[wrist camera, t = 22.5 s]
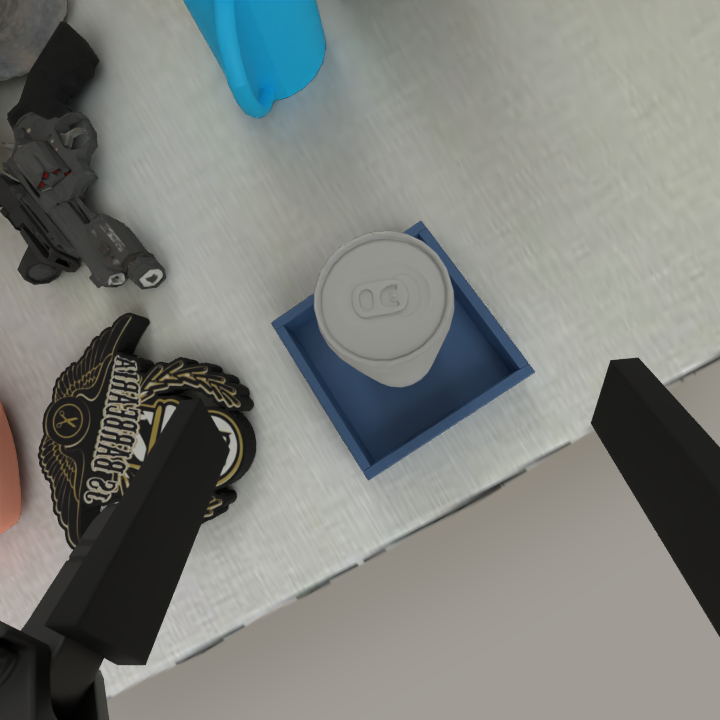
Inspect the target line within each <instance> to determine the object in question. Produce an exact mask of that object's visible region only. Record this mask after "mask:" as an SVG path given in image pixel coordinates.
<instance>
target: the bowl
mask: <svg viewBox="0 0 720 720" xmlns="http://www.w3.org/2000/svg"><path fill="white" fill-rule="evenodd" d="M66 15H67V0H0V81H5V80H9V79H10V78H11V77H13V76H16V77H21V76H23V75H25V74H27V73H29V72H30V70H31V68H32V66H33V65H34V63H35V62H36V60H37V58H38V57H39V55H40V54H41V52H42V50H43V49H44V47H45V46H46V44H47V42H48V41H49V39H50V38H51V36H52V34H53V33H54V31H55V30H56V28H57V26H58V25H59V23H60V22H63V19H64V18H65V16H66Z"/></svg>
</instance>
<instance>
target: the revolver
mask: <svg viewBox="0 0 720 720" xmlns="http://www.w3.org/2000/svg"><path fill="white" fill-rule="evenodd" d="M98 62H99V59H98V57H97V56H96V54H95V53H94V51H93V50H92V48H91V47H90V46H89V44H88V43H87V42H86V40H85V39H83V38H82V37H81V36H80V35H79V34H78V33H77V32H76V31H75V30H74V29H73V28H72V27H71V26H70V25H69V24H66V23H64V22H60V23H59V25H58V26H57V28H56V30H55V31H54V33H53V34H52V36H51V38H50V39H49V41H48V42H47V44H46V46H45V47H44V49H43V50H42V52H41V54H40V55H39V57H38V58H37V60H36V62H35V63H34V65H33V66H32V68H31V70H30V72H29V75H28V78H27V81H26V83H25V86H24V89H23V92H22V95H21V98H20V101H19V103H18V104H17V105H16V106H15V107H14V108H13V109H12V110H11V111H10V112H9V113H8V114H7V117H8V118H7V119H8V121H9V124H10V126H11V128H12V130H13V132H14V137H15V143H10V144H5V143H4V142H3V143H2V146H4V147H5V148H7V149H9V150H10V151H12V152H13V153H12V156H11V157H10V158H9V160H8V161H7V162H6V163H2V164H3V168H4V169H5V170H6V172H7V173H8V174H10V175H12V176H13V177H15V178H16V179H18V180H19V181H20V182H21V183H19V182H17V181H15V180H13V179H11V178H9V177H7V176H6V175H4V174H2V173H1V174H0V207H2V206H3V208H2V209H1V210H0V212H1V213H2V214H3V215H4V217H6V218H7V219H8V220H9V221H10V222H11V224H12V225H13V226H14V228H15V229H17V230H19V231H21V232H20V233H21V235H22V236H23V238H24V239H25V241H26V243H27V244H28V248H27V250H26V252H25V254H24V256H23V258H22V260H21V263H20V265H19V267H18V271H19V273H20V274H21V275H22V277H23V278H24V280H26V281H28V282H30V283H32V284H34V285H37V284H47V283H50V282H52V281H53V280H55V279H56V278H58V277H59V275H60V273H61V271H62V270H64V271H66V272H76V270H77V269H78V268H79V267H80V262H79V259H78V257H80V256H81V257H82V259H83V260H84V262H85V263H86V265H87V266H88V268H89V269H90V271H91V272H92V275H91V276H90V277H89V278H90V280H91V281H92V282H93V283H94V284H95V285H96V286H97V287H98V288H100V287H101V286H104V287H118V286H121V285H123V284H124V283H125V282H126V280H127V279H128V278H130V279H131V280H132V281H133V282H134V283H135V284H136V285H138V286H139V287H140V288H141V289H149V288H156V287H158V286H159V285H160V284H161V283H162V282H163V281H164V280H165V279H166V275H165V270H164V268H163V267H162V266H161V265H160V264H159V263H158V261H157V260H156V259H155V257H154V255H153V254H151V253H149V252H148V251H147V250H146V249H145V248H144V246H143V245H142V244H141V243H140V241H139V240H138V239H137V238H136V236H135V235H134V234H133V233H132V231H131V230H130V229H129V228H128V227H126V226H125V225H124V224H123V223H121V222H119V221H118V220H116V219H114V218H112V217H110V216H108V215H106V214H103V213H102V214H100V215H99V214H98V213H97V212H94V211H90V210H89V209H88V208H87V207H86V206H85V204H84V203H83V202H82V200H83V199H84V192H85V191H86V189H87V188H88V186H89V185H90V184H92V183H93V182H94V181H95V180H97V179H98V177H97V176H96V174H95V173H94V172H93V171H92V169H91V168H90V167H89V164H90V160H91V156H92V154H93V152H94V151H95V150H96V148H97V147H98V144H97V133H96V131H95V129H94V128H93V126H92V124H91V123H90V121H89V119H88V118H87V117H86V116H84V115H83V114H82V113H77V112H73V111H72V110H71V109H70V108H69V107H68V102H69V100H70V99H71V98H73V97H74V96H76V95H77V94H79V93H80V92H81V89H82V84H83V83H84V82H86V81H88V80H89V79H91V78H93V77H94V69H95V67H96V66H97V64H98ZM81 120H84V121H85V122H86V126H87V131H88V132H87V131H86V130H85V129H83V128H78V127H76V128H74V129H72V130H70V131H69V125H71V124H74V123H76V122H78V121H81ZM87 133H88V136H89V140H88V141H87V142H86V143H85V145H84V146H83V147H82V148H79V149H75V150H72V149H71V148H72V143H73V139H74V138H75V137H77V136H78V135H80V134H87ZM4 169H3V170H4ZM5 170H4V171H5ZM68 262H69V263H70V265H69V264H68Z"/></svg>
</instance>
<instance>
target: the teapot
mask: <svg viewBox="0 0 720 720" xmlns="http://www.w3.org/2000/svg"><path fill="white" fill-rule="evenodd" d="M21 506H22V502H21V486H20V476H19V467H18V459H17V454H16V448H15V444H14V440H13V437H12V433H11V430H10V427H9V424H8V421H7V418H6V415H5V412H4V409H3V407H2V404H1V402H0V534H1V533H3V532H5V531H6V530H8V529H9V528H10V527H12V526H13V525H14V524H16V523H17V522H18V520H19V518H20V515H21Z"/></svg>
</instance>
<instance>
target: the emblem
mask: <svg viewBox="0 0 720 720" xmlns="http://www.w3.org/2000/svg"><path fill="white" fill-rule="evenodd" d="M148 325H149V320H148V319H147V318H145V317H142V316H139V315H135V314H132V313H126V314H123V315H122V316H120V317H119V318H118V319H117V320H116V321H115V322H114V323H113V325H112V327H108V328H106V329H104V330H103V331H102V332H101V333H100V335H99V336H96V337H95V338H94V339H93V340H92V342H91V344H90V346H89V347H87V348H86V350H85V352H84V355H83V356H82V357H81V358H80V360H79V361H78V362H77V363H76V362H73V363H71V365H70V366H69V367H67V368H66V370H65V371H63V372H62V373H61V375H60V377H59V378H57V379H56V383H55V386H54V388H53V394H52V402H51V403H50V404H49V406H48V407H47V410H46V411H45V413H44V418H43V423H42V424H43V433H44V435H43V438H42V440H41V444H40V446H39V453H38V458H39V465H40V467H41V468H42V473H43V474H44V477H45V480H47V481H49V483H50V488H51V491H52V493H51V499H52V502H53V512H54V514H55V515H56V516H57V517H58V522H59V525H60V526H61V527H62V529H64V530H65V537H66V541H67V543H68V545H69V546H70V547H71V549H73V550H74V548H75V547H76V545H78V544H79V543H80V539H81V537H82V536H83V534H84V533H85V531H86V530H87V528H88V526H89V525H90V523H91V522H92V521H93V520H94V519H95V518H96V517H97V516H98V515H99V514H100V505H101V506H105V505H109V504H112V503H115V502H118V501H120V499H121V498H122V496H123V494H124V493H125V491H126V489H127V488H128V486H129V484H130V483H131V481H132V479H133V478H134V476H135V475H136V473H137V471H138V470H139V468H140V466H141V465H142V463H143V461H144V460H145V458H146V456H147V455H148V453H149V451H150V450H151V448H152V447H153V445H154V443H155V442H156V440H157V438H158V437H159V435H160V433H161V432H162V430H163V428H164V427H165V425H166V423H167V422H168V420H169V418H170V417H171V415H172V414H173V412H174V410H175V409H176V407H177V405H178V404H179V402H180V400H191V399H192V398H190V397H186V396H172V395H173V394H180V393H182V392H184V391H185V390H194V391H198V392H202V393H204V395H205V396H207V397H209V398H212V399H213V401H214V402H215V403H216V404H217V405H223V406H224V407H206V408H207V410H208V412H209V413H210V415H211V417H212V419H213V420H214V422H215V424H216V426H217V427H218V429H219V431H220V433H221V434H222V436H223V438H224V440H225V441H226V443H227V445H228V447H229V448H230V452H229V455H228V457H227V460H226V462H225V465H224V467H223V470H222V472H221V475H220V478H219V480H218V483H217V485H216V488H215V490H214V493H213V495H212V498H211V500H210V503H209V505H208V508H207V510H206V513H205V516H204V518H203V521H202V523H201V524H203V523H204V522H206V521H208V520H211V519H213V518H215V517H217V516H219V515H220V514H222V513H224V512H226V511H227V509H228V507H229V506H228V505H229V504H231V503H233V502H234V501H235V500H236V498H237V494H236V492H235V491H234V490H229V489H228V488H226V487H225V486H228V485H230V484H232V483H234V482H235V481H237V480H239V479H240V478H241V477H242V476H244V474H245V473H246V472H247V471H248V469H249V468H250V467H251V464H252V462H253V460H254V457H255V453H256V439H255V434H254V431H253V428H252V426H251V424H250V422H249V421H248V419H247V418H246V417H245V416H244V415H243V414H242V413H240V412H239V411H250V410H251V409H252V408H253V406H254V403H253V401H252V400H251V398H249V394H250V392H249V389H248V388H247V387H246V386H244V385H241V384H239V379H238V377H236V376H235V375H230V374H224V373H222V370H223V369H222V368H221V367H220V366H218V365H214V364H209V363H198V362H197V361H196V360H192V359H187V358H182V357H180V358H177V359H175V360H174V361H172V362H170V363H165V362H158V363H156V364H155V365H154V363H153V362H152V361H151V360H146V359H144V358H138V357H137V355H133V351H134V349H135V347H136V345H137V343H138V342H139V339H140V337H141V336H142V334H143V332H144V331H145V330H146V328H147V326H148ZM223 487H224V488H223Z"/></svg>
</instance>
